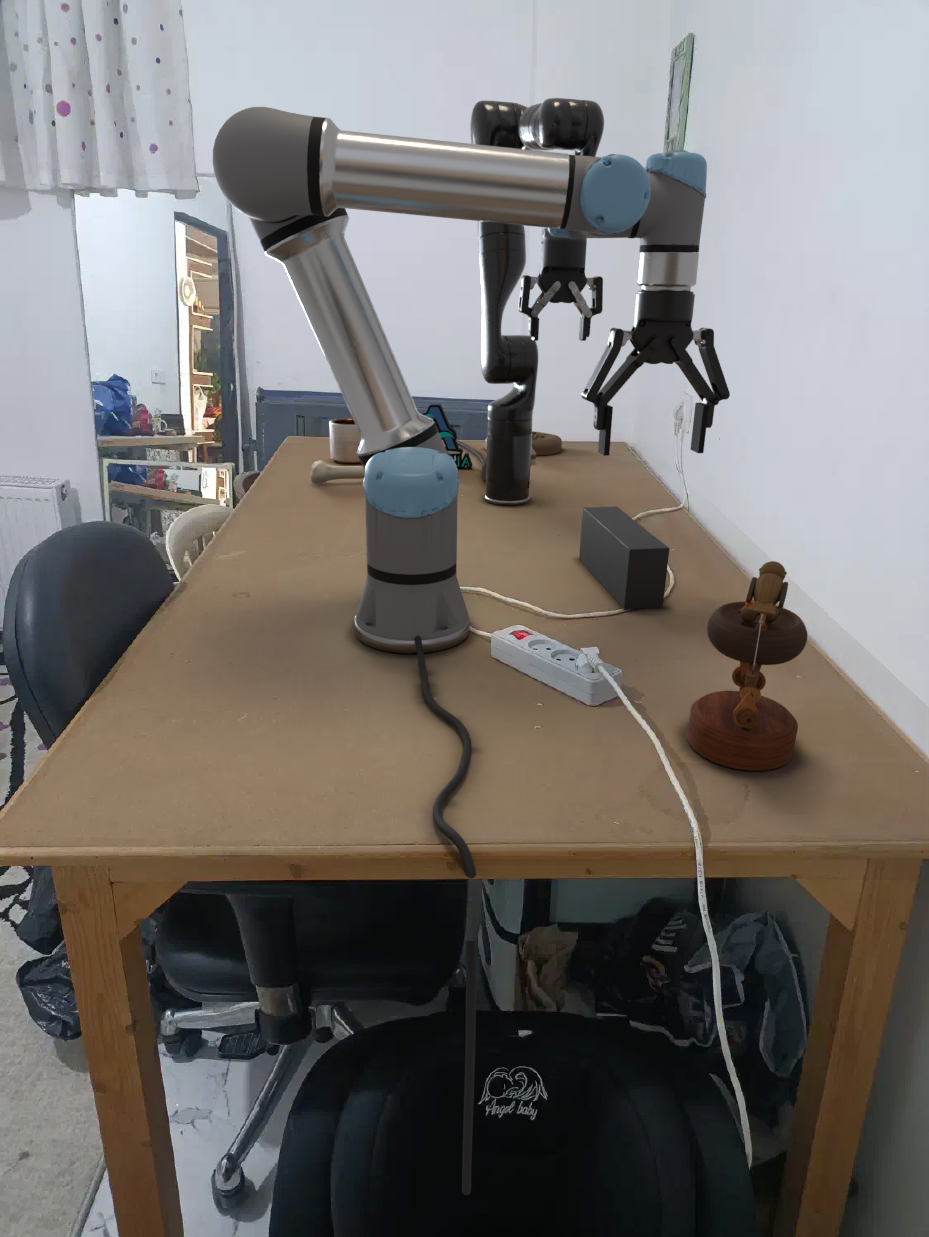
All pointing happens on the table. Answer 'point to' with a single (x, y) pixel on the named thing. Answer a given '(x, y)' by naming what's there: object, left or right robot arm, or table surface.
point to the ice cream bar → (543, 444)
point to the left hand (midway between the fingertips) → (650, 452)
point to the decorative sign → (448, 435)
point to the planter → (344, 440)
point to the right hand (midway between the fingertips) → (558, 340)
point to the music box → (750, 679)
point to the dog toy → (334, 472)
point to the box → (624, 557)
